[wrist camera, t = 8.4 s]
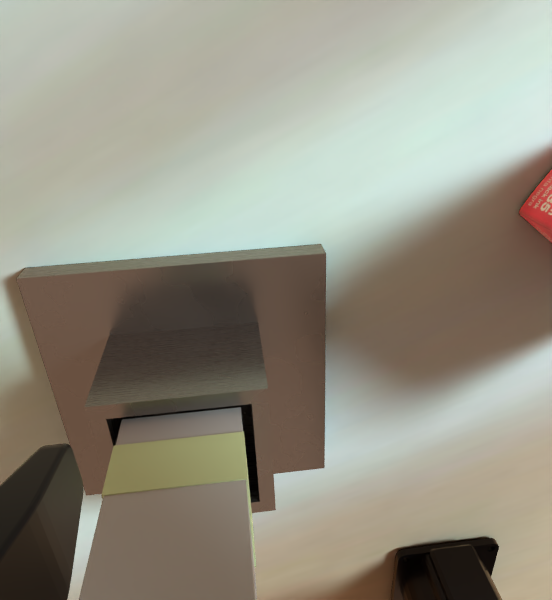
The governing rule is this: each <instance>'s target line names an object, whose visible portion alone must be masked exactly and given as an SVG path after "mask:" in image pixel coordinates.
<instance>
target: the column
mask: <svg viewBox="0 0 552 600" xmlns="http://www.w3.org/2000/svg"><path fill="white" fill-rule="evenodd" d="M102 498H103V501H102V505H101V509H100V513H99V517H98V522H97V526H96V530H95V534H94V538H93V543H92V547H91V551H90V555H89V559H88V563H87V568H86V572H85V576H84V580H83V584H82V589H81V593H80V597H79V600H257V593H256V580H255V567H256V560H255V547H254V534H253V521H252V510H251V500H250V489H249V479H248V469H247V458H246V448H245V437H244V432H243V425H242V415H241V407H238V408H229V409H219V410H210V411H200V412H190V413H181V414H171V415H162V416H152V417H143V418H133V419H123V420H122V421H121V425H120V429H119V434H118V438H117V442H116V445H115V446H113V450H112V454H111V458H110V462H109V466H108V471H107V475H106V479H105V483H104V487H103V491H102Z"/></svg>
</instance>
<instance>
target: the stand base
mask: <svg viewBox="0 0 552 600" xmlns="http://www.w3.org/2000/svg"><path fill="white" fill-rule="evenodd" d="M17 282H18V285H19V288H20V291H21V294H22V297H23V301H24V304H25V307H26V310H27V313H28V316H29V319H30V322H31V325H32V328H33V331H34V335H35V338H36V341H37V344H38V347H39V350H40V353H41V356H42V359H43V362H44V365H45V368H46V372H47V375H48V378H49V381H50V384H51V387H52V390H53V393H54V396H55V399H56V402H57V405H58V409H59V412H60V415H61V418H62V421H63V424H64V427H65V430H66V433H67V436H68V439H69V442H70V446H71V448H72V450H73V452H74V455H75V458H76V462H77V465H78V468H79V471H80V474H81V477H82V481H83V486H84V489H85V492H86V495H93V494H102V491H103V487H104V483H105V479H106V475H107V471H108V466H109V462H110V458H111V454H112V450H113V446H115V445H116V442H117V438H118V434H119V429H120V425H121V421H122V420H123V419H133V418H143V417H152V416H162V415H171V414H181V413H190V412H200V411H210V410H219V409H229V408H238V407H241V415H242V425H243V432H244V437H245V448H246V458H247V469H248V479H249V489H250V500H251V510H252V513H255V512H264V511H272V510H276V509H275V493H274V477H273V474H275V473H284V472H293V471H302V470H310V469H319V468H324V446H325V307H326V253H325V251H324V249H323V247H322V245H321V244H315V245H303V246H291V247H278V248H266V249H253V250H241V251H229V252H216V253H204V254H191V255H179V256H166V257H154V258H142V259H129V260H117V261H104V262H92V263H80V264H67V265H55V266H42V267H30V268H25V269H24V270H23V271H22V272H21V274H20V275H19V276H18V277H17Z"/></svg>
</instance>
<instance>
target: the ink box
mask: <svg viewBox="0 0 552 600" xmlns="http://www.w3.org/2000/svg"><path fill="white" fill-rule="evenodd" d="M519 214H520V215H521V216H522V217H523V218H524V219H525V220H526V221H527V222H529V223H530V224H531V225H532V226H533V227H534V228H535V229H536V230H537V231H539V232H540V233H541V234H542V235H543V236H544V237H546V238H547V239H548V240H549V241H550V242H551V243H552V170H551V171H550V172H549V173H548V174H547V175H546V177H545V178H544V179H543V180H542V181H541V182H540V184H539V185H538V186H537V187H536V188H535V190H534V191H533V192H532V194H531V195H530V196H529V198H528V199H527V200H526V202H525V203H524V204H523V206H522V207H521V209H520V211H519Z"/></svg>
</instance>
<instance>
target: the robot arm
mask: <svg viewBox="0 0 552 600" xmlns="http://www.w3.org/2000/svg"><path fill="white" fill-rule="evenodd" d="M82 498H83V481H82V477H81V474H80V471H79V468H78V465H77V462H76V458H75V455H74V452H73V450H72V448H71V446H70V445H68V444H56V445H47V446H43V447H41V448H40V449H38V450H37V451H36V452H35V453H34V454H33V455H32V456H31V457H30V458H29V459H28V460H27V461H26V462H24V463H23V464H22V465H21V466H20V467H19V468H18V469H17V470H16V471H15V472H14V473H13V474H12V475H11V476H10V477H9V478H8V479H7V480H6V481H4V482H3V483H2V484H1V485H0V600H67V598H68V593H69V588H70V582H71V576H72V569H73V562H74V555H75V548H76V540H77V533H78V526H79V519H80V512H81V505H82ZM498 549H499V546H498V544H497V542H496V540H495V539H493V538H486V539H479V540H471V541H463V542H456V543H448V544H440V545H432V546H425V547H417V548H409V549H403V550H400V551H398V552H397V554H396V559H395V567H394V576H393V584H392V593H391V600H502V598H501V596H500V594H499V592H498V590H497V588H496V586H495V585H494V583H493V581H492V579H491V575H492V571H493V567H494V563H495V560H496V556H497V552H498Z"/></svg>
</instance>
